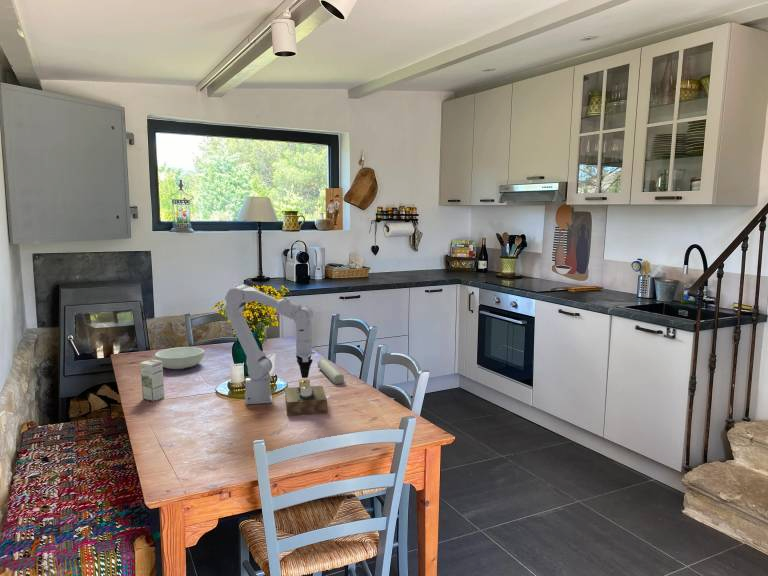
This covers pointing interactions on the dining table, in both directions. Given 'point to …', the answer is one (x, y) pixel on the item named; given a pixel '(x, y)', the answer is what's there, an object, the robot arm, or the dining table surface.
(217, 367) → the dining table surface
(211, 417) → the dining table surface
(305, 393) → the steel peg
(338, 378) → the tube
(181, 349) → the serving bowl
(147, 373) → the syrup box
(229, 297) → the robot arm
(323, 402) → the brown flat block
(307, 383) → the brass peg
